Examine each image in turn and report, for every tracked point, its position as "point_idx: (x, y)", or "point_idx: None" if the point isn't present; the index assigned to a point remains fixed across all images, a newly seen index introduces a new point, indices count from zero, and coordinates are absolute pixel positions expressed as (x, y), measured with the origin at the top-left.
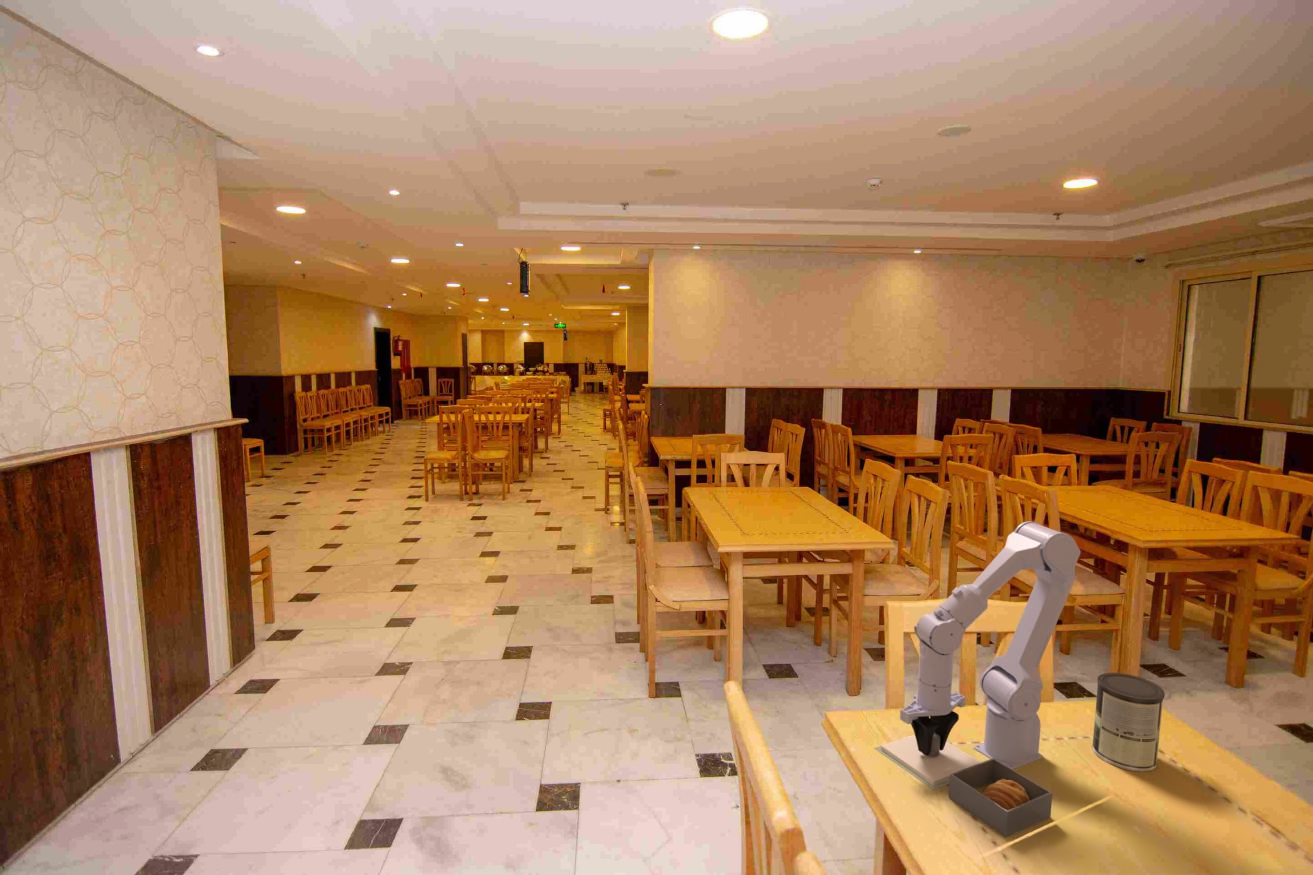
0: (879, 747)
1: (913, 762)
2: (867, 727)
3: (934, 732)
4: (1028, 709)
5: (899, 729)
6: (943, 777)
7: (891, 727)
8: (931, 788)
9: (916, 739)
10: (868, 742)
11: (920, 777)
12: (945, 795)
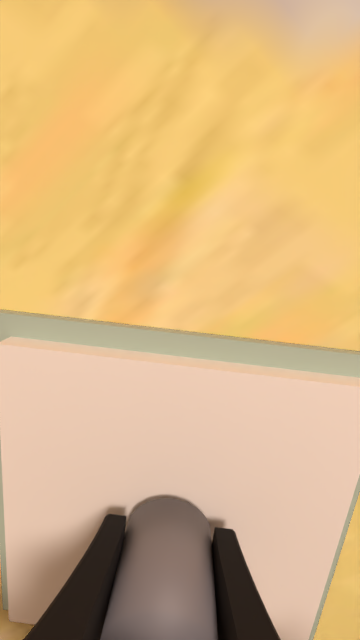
0: (19, 321)
1: (39, 516)
2: (142, 105)
3: (226, 635)
4: None
5: (296, 242)
6: None
7: (275, 197)
8: (3, 601)
9: (73, 572)
10: (21, 238)
11: None
12: (32, 624)
